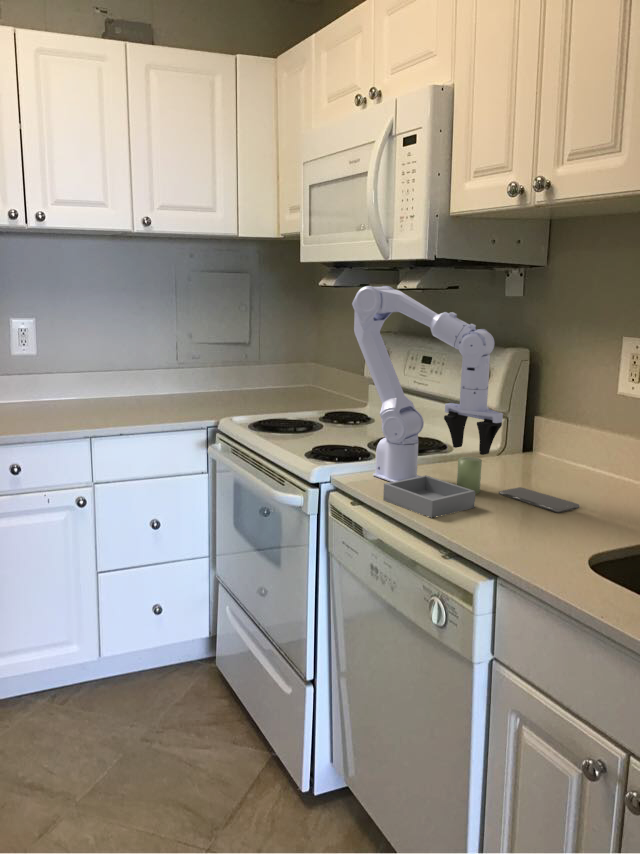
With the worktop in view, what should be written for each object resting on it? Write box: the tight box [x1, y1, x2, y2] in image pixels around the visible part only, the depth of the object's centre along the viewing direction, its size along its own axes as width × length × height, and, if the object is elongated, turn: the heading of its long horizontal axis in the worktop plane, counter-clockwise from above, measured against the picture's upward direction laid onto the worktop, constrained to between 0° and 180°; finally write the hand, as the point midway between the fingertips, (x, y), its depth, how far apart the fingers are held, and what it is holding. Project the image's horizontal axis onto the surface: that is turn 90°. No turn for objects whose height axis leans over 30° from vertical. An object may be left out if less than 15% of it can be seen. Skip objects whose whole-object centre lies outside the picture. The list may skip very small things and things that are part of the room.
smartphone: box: [498, 486, 581, 514], centre depth 153 cm, size 7×1×16 cm
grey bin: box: [382, 474, 476, 519], centre depth 149 cm, size 14×12×4 cm
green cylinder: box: [456, 456, 483, 495], centre depth 159 cm, size 5×5×7 cm
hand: (470, 450), depth 157 cm, fingers open, 7 cm apart
